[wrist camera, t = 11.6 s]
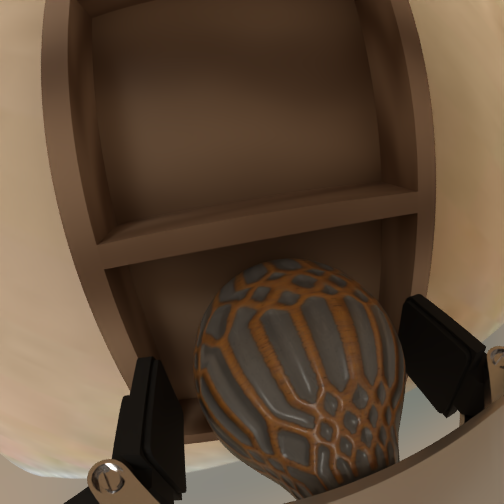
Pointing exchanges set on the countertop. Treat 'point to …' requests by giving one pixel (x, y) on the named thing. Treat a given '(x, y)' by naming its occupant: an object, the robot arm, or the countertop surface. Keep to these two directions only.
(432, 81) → the countertop surface
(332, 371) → the vase
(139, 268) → the divided wooden tray
